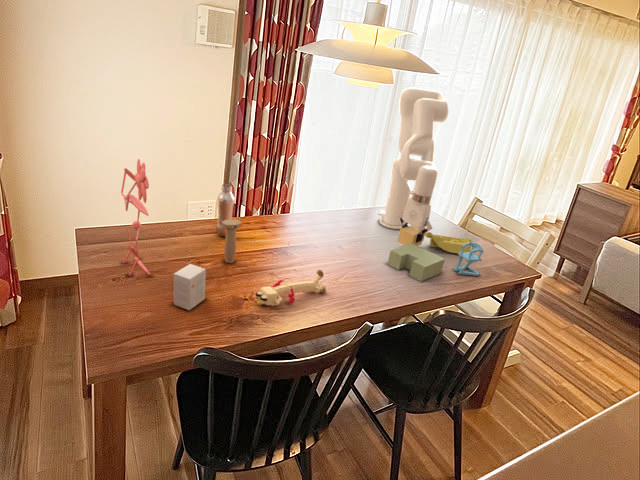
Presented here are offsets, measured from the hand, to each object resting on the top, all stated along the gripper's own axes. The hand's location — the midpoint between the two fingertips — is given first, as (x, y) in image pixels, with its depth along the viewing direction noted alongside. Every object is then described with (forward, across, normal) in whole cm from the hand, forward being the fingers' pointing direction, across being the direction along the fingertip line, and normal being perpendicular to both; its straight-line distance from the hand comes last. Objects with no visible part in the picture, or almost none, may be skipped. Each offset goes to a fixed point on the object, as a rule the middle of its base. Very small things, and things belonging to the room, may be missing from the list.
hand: (410, 237), depth 199 cm
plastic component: (+6, +8, +17) cm, 20 cm away
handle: (+5, -26, -73) cm, 77 cm away
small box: (+4, -10, -99) cm, 99 cm away
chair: (+5, +26, +3) cm, 26 cm away
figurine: (+4, -36, -98) cm, 104 cm away
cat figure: (+4, +4, -71) cm, 71 cm away
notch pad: (+5, +13, -14) cm, 19 cm away
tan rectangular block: (+2, 0, +2) cm, 3 cm away
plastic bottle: (+5, -46, -61) cm, 76 cm away
